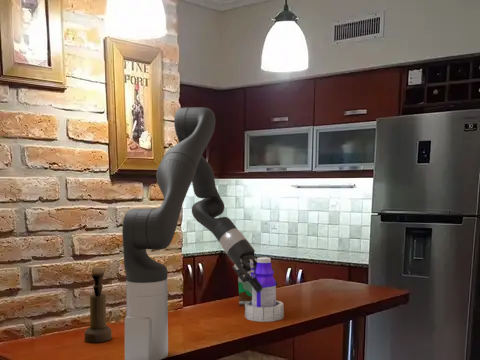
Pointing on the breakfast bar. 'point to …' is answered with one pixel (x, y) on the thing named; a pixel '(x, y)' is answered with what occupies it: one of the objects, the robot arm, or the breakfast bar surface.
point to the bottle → (264, 284)
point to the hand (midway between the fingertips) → (268, 288)
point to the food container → (244, 292)
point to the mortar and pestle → (98, 312)
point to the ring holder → (264, 312)
